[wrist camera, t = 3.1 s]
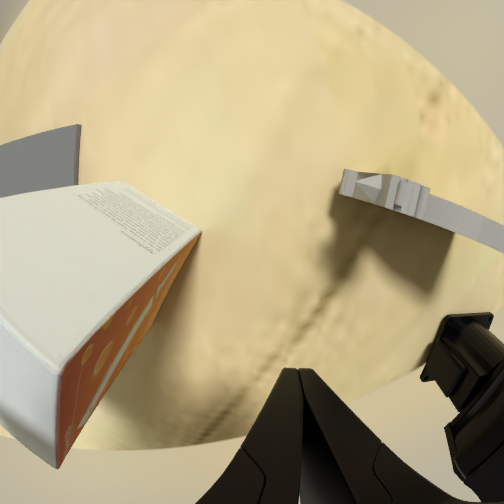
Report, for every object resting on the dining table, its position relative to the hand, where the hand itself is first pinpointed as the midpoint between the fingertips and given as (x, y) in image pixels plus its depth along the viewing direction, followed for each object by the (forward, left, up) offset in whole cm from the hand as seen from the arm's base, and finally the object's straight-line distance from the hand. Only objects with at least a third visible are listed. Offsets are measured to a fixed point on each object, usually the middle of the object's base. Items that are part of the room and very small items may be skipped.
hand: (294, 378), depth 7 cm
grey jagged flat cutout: (-7, -5, -10) cm, 13 cm away
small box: (+9, 0, -10) cm, 13 cm away
